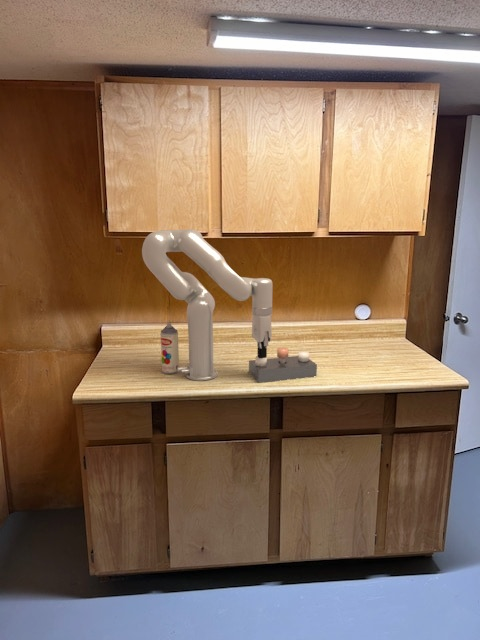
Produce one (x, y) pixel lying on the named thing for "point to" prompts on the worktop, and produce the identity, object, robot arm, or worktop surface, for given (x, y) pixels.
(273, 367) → the knob panel
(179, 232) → the robot arm
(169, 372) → the aerosol can
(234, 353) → the worktop surface
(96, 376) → the worktop surface
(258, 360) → the near knob
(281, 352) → the middle knob
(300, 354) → the far knob
